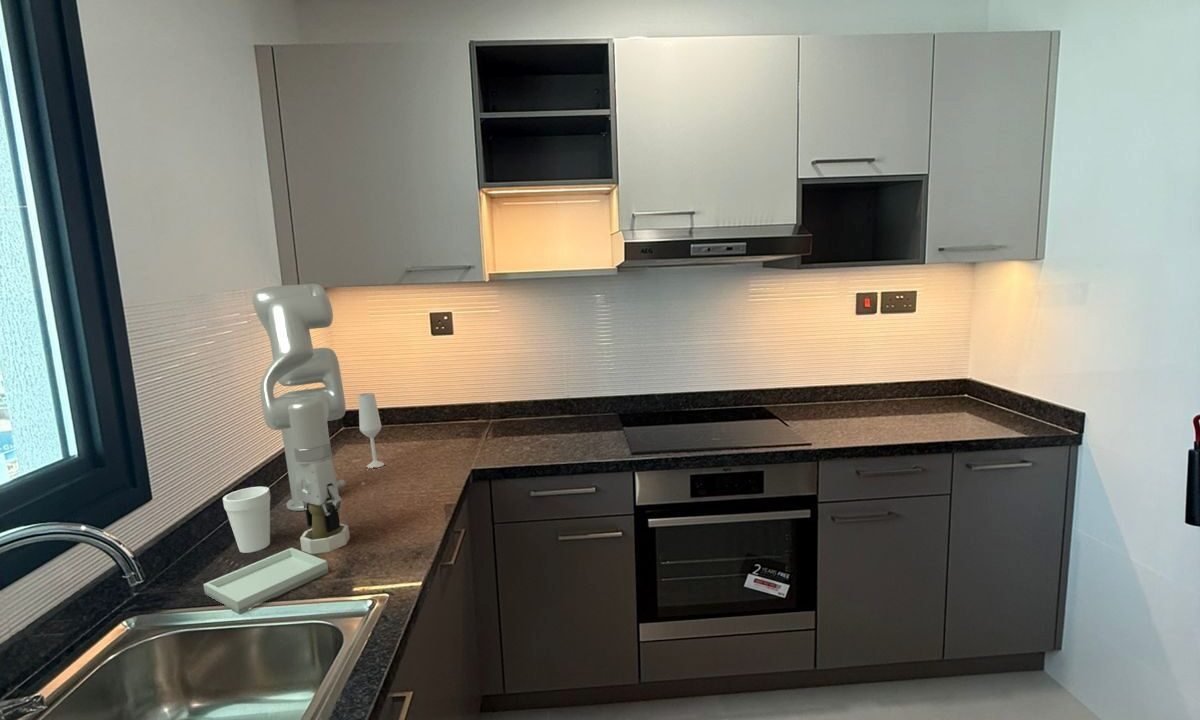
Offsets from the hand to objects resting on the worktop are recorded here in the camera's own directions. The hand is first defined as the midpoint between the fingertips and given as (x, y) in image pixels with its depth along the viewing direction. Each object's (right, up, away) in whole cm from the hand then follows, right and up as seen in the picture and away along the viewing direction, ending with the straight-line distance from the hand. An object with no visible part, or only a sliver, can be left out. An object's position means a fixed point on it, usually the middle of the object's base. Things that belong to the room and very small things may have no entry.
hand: (323, 526), depth 144 cm
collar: (0, -4, +1) cm, 4 cm away
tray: (-4, -7, -17) cm, 19 cm away
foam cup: (-17, -5, +2) cm, 18 cm away
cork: (0, -4, +1) cm, 5 cm away
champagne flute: (-9, +4, +59) cm, 60 cm away
